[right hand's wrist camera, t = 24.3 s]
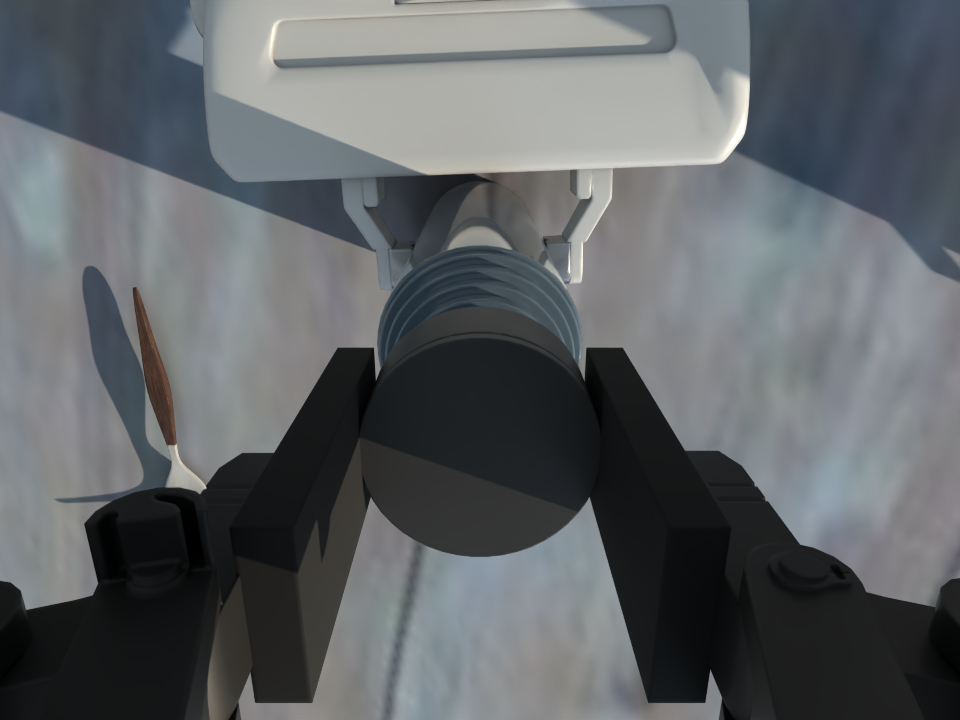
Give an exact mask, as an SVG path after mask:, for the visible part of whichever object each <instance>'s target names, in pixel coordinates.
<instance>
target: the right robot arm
mask: <svg viewBox="0 0 960 720" xmlns="http://www.w3.org/2000/svg"><path fill="white" fill-rule="evenodd" d="M375 383H376V376H375V359H374V348H337V350H336V352H335V353H334V355H333V357H332V358H331V360H330V362H329V363H328V365H327V367H326V368H325V370H324V372H323V373H322V375H321V377H320V378H319V380H318V381H317V383H316V385H315V386H314V388H313V390H312V391H311V393H310V395H309V396H308V398H307V400H306V401H305V403H304V405H303V406H302V408H301V410H300V411H299V413H298V415H297V416H296V418H295V419H294V421H293V423H292V424H291V426H290V428H289V429H288V431H287V433H286V434H285V436H284V438H283V439H282V441H281V443H280V444H279V446H278V448H277V449H276V451H275V453H242V454H240V455H239V456H237V457H235V458H234V459H232V460H231V461H229V462H228V463H226V464H225V465H223V466H222V467H220V468H219V469H218V470H217V472H216V473H215V474H214V476H213V477H212V479H211V480H210V481H209V483H208V484H207V485H206V489H203V491H202V492H201V493H200V494H199V493H198V492H196V491H193V490H189V489H185V488H180V487H166V488H154V489H149V490H144V491H139V492H135V493H132V494H129V495H127V496H124V497H121V498H119V499H116V500H113V501H112V502H110V503H108V504H107V505H105V506H104V507H102V508H100V509H99V510H97V511H95V513H94V514H93V515H92V516H91V517H90V518H89V519H88V520H87V521H86V522H85V524H84V525H85V529H86V533H87V538H88V542H89V546H90V550H91V555H92V559H93V563H94V567H95V572H96V576H97V580H98V585H97V587H96V590H95V592H94V594H93V596H89V597H85V598H82V599H78V600H73V601H68V602H63V603H59V604H54V605H49V606H44V607H39V608H34V609H29V610H26V608H25V605H24V601H23V598H22V594H21V591H20V590H19V589H18V588H17V587H15V586H14V585H13V584H12V583H10V582H4V581H0V720H241V716H240V709H239V703H238V701H239V698H240V696H241V693H242V691H243V688H244V686H245V683H246V681H247V679H248V676H249V674H250V671H251V678H252V685H253V691H254V698H255V703H312V702H313V698H314V695H315V691H316V688H317V684H318V681H319V677H320V674H321V670H322V667H323V663H324V660H325V656H326V652H327V649H328V645H329V642H330V638H331V635H332V631H333V628H334V624H335V621H336V617H337V614H338V610H339V607H340V603H341V600H342V596H343V593H344V589H345V586H346V582H347V579H348V575H349V572H350V568H351V565H352V561H353V557H354V554H355V550H356V547H357V543H358V540H359V536H360V533H361V529H362V526H363V522H364V519H365V515H366V512H367V508H368V505H369V501H370V498H371V496H370V494H369V492H368V490H367V488H366V486H365V483H364V480H363V478H362V469H361V454H360V439H359V428H360V424H361V419H362V416H363V414H364V411H365V408H366V406H367V403H368V401H369V398H370V396H371V393H372V390H373V388H374V385H375ZM585 384H586V387H587V390H588V392H589V395H590V397H591V400H592V402H593V405H594V408H595V410H596V413H597V415H598V418H599V422H600V427H601V446H600V461H599V474H598V479H597V481H596V484H595V487H594V489H593V491H592V493H591V495H590V500H591V503H592V507H593V510H594V514H595V517H596V521H597V524H598V528H599V531H600V535H601V538H602V542H603V545H604V549H605V552H606V556H607V559H608V563H609V567H610V570H611V574H612V577H613V581H614V584H615V588H616V591H617V595H618V598H619V602H620V605H621V609H622V612H623V616H624V619H625V623H626V626H627V630H628V633H629V637H630V640H631V644H632V647H633V651H634V654H635V658H636V661H637V665H638V669H639V672H640V676H641V679H642V683H643V686H644V690H645V693H646V697H647V700H648V703H705V701H706V694H707V688H708V681H709V674H710V669H711V672H712V674H713V677H714V679H715V681H716V684H717V686H718V689H719V691H720V693H721V696H722V703H721V709H720V716H719V720H960V578H958V579H952V580H950V581H949V582H947V583H946V584H945V585H944V586H942V587H941V589H940V593H939V596H938V600H937V603H936V607H931V606H926V605H921V604H916V603H912V602H907V601H902V600H897V599H892V598H887V597H883V596H879V595H875V594H871V593H868V592H866V591H865V588H864V586H863V584H862V582H861V581H860V580H859V578H858V577H857V576H856V574H855V573H854V572H853V571H852V569H851V568H849V567H848V566H846V565H845V564H844V563H842V562H841V561H839V560H838V559H836V558H835V557H833V556H831V555H829V554H826V553H824V552H822V551H820V550H817V549H815V548H812V547H808V546H803V545H800V544H799V543H798V541H797V540H796V539H795V537H794V536H793V535H792V533H791V532H790V530H789V529H788V528H787V526H786V525H785V524H784V522H783V521H782V520H781V518H780V517H779V516H778V514H777V513H776V512H775V510H774V509H773V508H772V506H771V505H770V503H769V502H768V501H765V497H764V495H763V494H762V493H761V491H760V490H759V489H758V487H755V485H754V482H753V480H752V479H751V478H750V476H749V475H748V474H747V472H746V471H745V470H744V468H743V467H742V466H741V465H740V464H738V463H736V462H735V461H733V460H732V459H730V458H729V457H727V456H726V455H724V454H722V453H721V452H719V451H685V450H684V448H683V447H682V445H681V443H680V442H679V440H678V439H677V437H676V435H675V434H674V432H673V430H672V429H671V427H670V425H669V424H668V422H667V420H666V419H665V417H664V415H663V414H662V412H661V410H660V409H659V407H658V405H657V404H656V402H655V401H654V399H653V397H652V396H651V394H650V392H649V391H648V389H647V387H646V386H645V384H644V382H643V381H642V379H641V377H640V376H639V374H638V372H637V371H636V369H635V367H634V366H633V364H632V363H631V361H630V359H629V358H628V356H627V354H626V353H625V351H624V349H623V348H587V349H586V366H585Z"/></svg>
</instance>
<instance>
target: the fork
mask: <svg viewBox="0 0 960 720" xmlns="http://www.w3.org/2000/svg"><path fill="white" fill-rule="evenodd" d="M133 297H134V305H135V312H136V319H137V326H138V332H139V339H140V346H141V353H142V361H143V369H144V376H145V382H146V387H147V391H148V394H149V397H150V401H151V403H152V406H153V409H154V412H155V415H156V417H157V420H158V423H159V425H160V428H161V431H162V433H163V436H164V438H165V441H166V444H167V447H168V449H169V452H170V456H171V461H172V465H171V470H170V473H169V475H168V478H167V481H166V485H165V488H166V487H180V488H185V489H189V490H193V491H196V492H198V493H199V494H200V493H201V492H202V491H203V489H206V486H205V485H204V483H203V482H202V481H201V480H200V479H199V478H198V477H197V476H196V475H195V474H194V473H193V472H191V471H190V470H189V469H188V468H187V467H186V466H185V465H184V464H183V463H182V462H181V460H180V458H179V455H178V450H177V442H176V431H175V421H174V411H173V402H172V395H171V389H170V385H169V381H168V378H167V375H166V372H165V369H164V366H163V363H162V360H161V358H160V355H159V352H158V349H157V346H156V343H155V340H154V337H153V334H152V331H151V327H150V324H149V321H148V318H147V315H146V311H145V308H144V305H143V302H142V299H141V296H140V294H139V291H138V289H137V288H136V287H134V288H133Z"/></svg>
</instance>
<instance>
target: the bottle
mask: <svg viewBox="0 0 960 720" xmlns="http://www.w3.org/2000/svg"><path fill="white" fill-rule="evenodd" d="M467 307H494V308H501V309H505V310H509V311H513V312H517V313H519V314H522V315H524V316H527V317H529V318H531V319H533V320H535V321H536V322H538V323H540V324H542V325H543V326H545V327H546V328H547V329H549V330H550V331H551V332H552V333H554V334H555V335H556V336H557V337H558V338H559V339H560V340H561V341H562V342H563V343H564V345H565V346H566V347H567V348H568V350H569V351H570V352H571V354H572V355H573V357H574V359H575V361H576V363H577V364H578V366H579V368H580V363H581V357H582V349H583V336H582V326H581V322H580V318H579V314H578V312H577V309H576V307H575V304H574V302H573V300H572V298H571V296H570V294H569V292H568V290H567V288H566V286H565V284H564V282H563V280H562V278H561V276H560V274H559V271H558V269H557V267H556V265H555V263H554V261H553V259H552V257H551V255H550V253H549V251H548V249H547V247H546V245H545V243H544V241H543V239H542V237H541V235H540V233H539V231H538V229H537V227H536V225H535V223H534V221H533V219H532V217H531V215H530V213H529V211H528V209H527V208H526V206H525V204H524V203H523V202H522V200H521V199H520V198H519V197H518V196H517V195H516V194H515V193H514V192H512V191H511V190H510V189H508V188H506V187H504V186H502V185H500V184H497V183H494V182H490V181H471V182H466V183H463V184H460V185H458V186H456V187H454V188H452V189H451V190H449V191H448V192H446V193H445V194H444V195H443V196H442V197H441V198H440V199H439V200H438V201H437V203H436V204H435V206H434V207H433V209H432V211H431V213H430V215H429V217H428V219H427V221H426V223H425V225H424V227H423V229H422V231H421V233H420V235H419V237H418V239H417V241H416V244H415V246H414V248H413V250H412V252H411V254H410V256H409V258H408V260H407V262H406V264H405V266H404V268H403V270H402V272H401V274H400V276H399V278H398V280H397V282H396V284H395V286H394V288H393V290H392V292H391V294H390V296H389V298H388V300H387V302H386V304H385V307H384V310H383V312H382V315H381V318H380V323H379V328H378V339H377V346H378V357H379V362H380V367H382V365H383V363H384V361H385V360H386V358H387V356H388V354H389V353H390V352H391V350H392V349H393V348H394V346H395V345H396V344H397V342H398V341H400V340H401V339H402V338H403V337H404V336H405V335H406V334H407V333H408V332H409V331H410V330H412V329H413V328H414V327H416V326H417V325H419V324H420V323H422V322H424V321H426V320H427V319H429V318H431V317H434V316H436V315H439V314H441V313H444V312H447V311H451V310H455V309H459V308H467Z"/></svg>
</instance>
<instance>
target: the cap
mask: <svg viewBox="0 0 960 720" xmlns="http://www.w3.org/2000/svg"><path fill="white" fill-rule="evenodd" d="M359 439H360V454H361V469H362V478H363V480H364V483H365V486H366V488H367V490H368V492H369V494H370V496H371V498H372V499H373V501H374V503H375V504H376V505H377V507H378V508H379V510H380V511H381V512H382V513H383V515H384V516H385V517H386V518H387V519H388V520H389V521H390V522H391V523H392V524H393V525H394V526H396V527H397V528H398V529H399V530H401V531H402V532H403V533H405V534H406V535H408V536H409V537H411V538H412V539H414V540H416V541H418V542H420V543H422V544H424V545H426V546H428V547H431V548H433V549H436V550H439V551H442V552H446V553H450V554H455V555H461V556H470V557H490V556H499V555H505V554H510V553H514V552H518V551H521V550H524V549H527V548H530V547H532V546H534V545H537V544H539V543H541V542H543V541H545V540H546V539H548V538H550V537H551V536H553V535H554V534H556V533H557V532H559V531H560V530H561V529H562V528H563V527H565V526H566V525H567V524H568V523H569V522H570V521H571V520H572V519H573V518H574V517H575V516H576V515H577V514H578V513H579V511H580V510H581V509H582V507H583V506H584V505H585V503H586V502H587V500H588V498H589V496H590V495H591V493H592V491H593V489H594V487H595V484H596V481H597V479H598V474H599V461H600V446H601V427H600V422H599V418H598V415H597V413H596V410H595V408H594V405H593V402H592V400H591V397H590V395H589V392H588V390H587V387H586V384H585V382H584V379H583V377H582V374H581V372H580V369H579V366H578V364H577V363H576V361H575V359H574V357H573V355H572V354H571V352H570V351H569V350H568V348H567V347H566V346H565V345H564V343H563V342H562V341H561V340H560V339H559V338H558V337H557V336H556V335H555V334H554V333H552V332H551V331H550V330H549V329H547V328H546V327H545V326H543V325H542V324H540V323H538V322H536V321H535V320H533V319H531V318H529V317H527V316H524V315H522V314H519V313H517V312H513V311H509V310H505V309H501V308H494V307H467V308H459V309H455V310H451V311H447V312H444V313H441V314H439V315H436V316H434V317H431V318H429V319H427V320H426V321H424V322H422V323H420V324H419V325H417V326H416V327H414V328H413V329H412V330H410V331H409V332H408V333H407V334H406V335H405V336H404V337H403V338H402V339H401V340H400V341H398V342H397V344H396V345H395V346H394V348H393V349H392V350H391V352H390V353H389V354H388V356H387V358H386V360H385V361H384V363H383V365H382V367H381V370H380V372H379V375H378V378H377V380H376V383H375V385H374V388H373V390H372V393H371V396H370V398H369V401H368V403H367V406H366V408H365V411H364V414H363V416H362V419H361V424H360V428H359Z"/></svg>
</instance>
